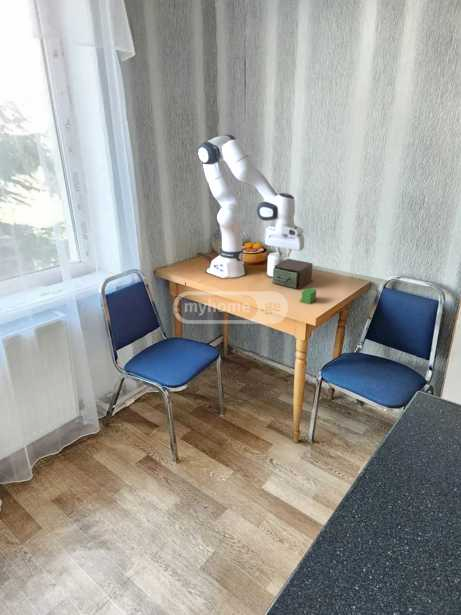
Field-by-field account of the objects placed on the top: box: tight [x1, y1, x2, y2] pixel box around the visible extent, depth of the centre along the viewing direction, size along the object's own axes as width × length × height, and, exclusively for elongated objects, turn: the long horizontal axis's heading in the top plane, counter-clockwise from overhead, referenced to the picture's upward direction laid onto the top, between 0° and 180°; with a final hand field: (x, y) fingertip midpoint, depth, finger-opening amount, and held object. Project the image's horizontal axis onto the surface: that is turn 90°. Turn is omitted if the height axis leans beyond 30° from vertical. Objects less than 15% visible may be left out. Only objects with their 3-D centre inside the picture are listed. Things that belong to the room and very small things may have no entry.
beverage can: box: [266, 252, 284, 278], centre depth 218 cm, size 8×8×12 cm
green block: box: [301, 287, 317, 304], centre depth 188 cm, size 6×4×5 cm
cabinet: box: [275, 258, 313, 289], centre depth 210 cm, size 15×15×10 cm
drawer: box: [272, 268, 298, 289], centre depth 206 cm, size 18×13×8 cm
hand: (283, 256), depth 196 cm, fingers open, 3 cm apart
